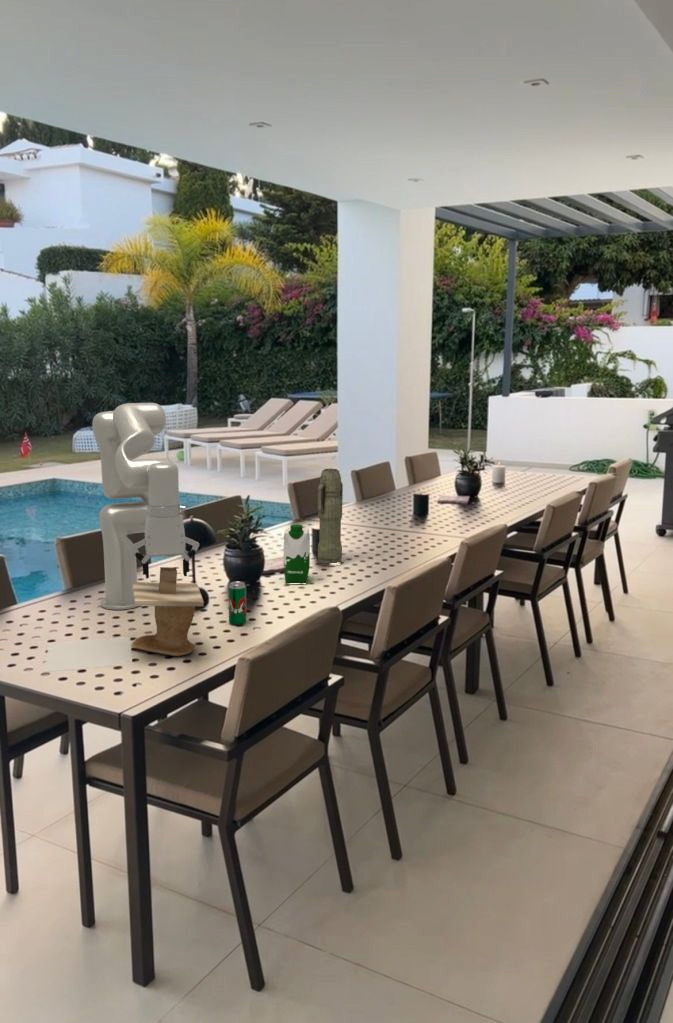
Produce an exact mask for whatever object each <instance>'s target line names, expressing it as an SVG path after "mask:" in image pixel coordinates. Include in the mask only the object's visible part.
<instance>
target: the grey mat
mask: <svg viewBox="0 0 673 1023" xmlns="http://www.w3.org/2000/svg"><path fill="white" fill-rule="evenodd" d="M131 643H132V642H131V636H122V637H121V636H119V637H110V638H96V639H95V638H94V639H83V640H82V639H81V640H80V639H79V640H69V641H68V640H67V641H56V642H55V641H54V642H48V648H47V652H46V658H45V664H44V669H43V672H44V673H47V672H59V671H68V670H69V671H71V670H83V669H94V668H95V669H96V668H108V667H119V666H132V665H133V655H132V654H133V653H132V644H131Z"/></svg>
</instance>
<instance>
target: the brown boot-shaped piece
mask: <svg viewBox="0 0 673 1023" xmlns="http://www.w3.org/2000/svg"><path fill="white" fill-rule="evenodd" d="M195 610H196V606H154V619H155V624H156V633H155V634H151V635H150V634H146V635H142V636H140V637H138V638H136V639H135V640H134V641H133V642H131V643H132V644H131V648H134V649H138V650H142V651H146V652H150V653H154V654H155V653H156V654H159V655H160V654H161V655H165V656H174V657H175V656H176V657H181V656H185V655H189V654H190V653H191V652H193V651H194V650H195V648H196V645H195V644H194V643H193V642H191V641H189V639H188V634H189V630H190V628H191V625H192V623H193V620H194V616H195Z"/></svg>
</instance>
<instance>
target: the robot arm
mask: <svg viewBox="0 0 673 1023" xmlns="http://www.w3.org/2000/svg"><path fill="white" fill-rule="evenodd" d="M166 425H167V417H166V412H165V410H164V409H163V407H162V406H161V405H160V404H158V403H155V402H136V403H135V402H127V403H123V404H120V405H118V406H116V408H114V410H108V411H101V412H98V413H97V414H95V416H93V418H92V432H93V433H92V434H93V436H94V439H95V443H96V444H97V447H98V450H99V454H100V465H101V466H100V467H101V468H100V469H101V483H102V491H103V493H104V494H103V495H104V496H106V498H108V499H113V500H118V499H120V500H122V499H123V500H124V499H132V498H134V499H135V498H139V499H140V501H131V502H115V503H110V504H106V505H105V506H104V505H103V507H102V508H101V509H100V511H99V514H98V519H99V520H98V521H99V526H100V531H101V536H102V544H103V546H102V547H103V561H104V562H103V563H104V564H103V565H104V582H105V583H104V585H105V586H104V589H105V598H103V599H101V601H100V606H101V607H102V608H104V609H107V610H114V611H116V610H117V611H118V610H119V611H121V610H122V611H123V610H130V609H135V608H138V607H139V606H135V605H134V595H133V582H138V576H137V575H138V572H137V560H139V561H140V562H141V564H142V575H143V576H144V575H145V579H147V580H148V579H149V578H150V573H149V568H150V566H149V559H150V558H152V557H160V556H161V557H162V556H179V555H180V556H181V557H182V558H183V559H182V574H183V576H184V577H187V575H188V573H190V560H191V559H192V558H193V557H194V556H195V555H196V552H197V551H198V549H199V547H200V543H199V542H198V541H196V540H195V539H192V538H189V537H188V536H186V533H185V532H186V531H185V525H184V523H185V522H184V518H183V515H182V514H180V513H182V512H185V511H186V506H185V505H181V504H180V488H179V484H180V481H179V467H178V466H177V464H176V463H174V462H173V461H172V460H171V459H169V458H165V457H163V458H162V457H157V458H140V459H138V458H139V457H141V456H144V455H145V454H147V453H149V452H150V451H151V450H152V448H154V445H155V441H156V439H155V437H156V436H157V435H159V434H161V433H162V432H164V430H165V428H166ZM141 533H142V534H143V533H144V538H143V539H141V540H139V541H137V542H135V543H134V542H132V540H131V539H130V538H129V537H128V535H132V534H141ZM186 544H188V545H190V546H192V547H191V549H190V550H189V551H188V552H186V547H187V546H186ZM143 546H144V551H145V553H144V554H142V553H141V552H139V550H138V549H140V548H141V547H143Z"/></svg>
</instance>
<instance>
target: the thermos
mask: <svg viewBox="0 0 673 1023" xmlns="http://www.w3.org/2000/svg"><path fill="white" fill-rule="evenodd" d="M319 478H320V479H319V484H318V487H317V513H318V514H317V516H318V519H319V529H318V531H319V532H318V533H319V540H318V545H317V557H318V558H317V559H318V560H317V562H318V561H319V562H322V563H337V562H341V563H342V558H343V546H342V542H341V540H342V539H341V536H342V528H341V526H342V518H343V495H344V494H343V492H344V491H343V488H344V486H343V485H344V484H343V482H342V477H341V473H340V470H338V469H336V468H324V469H323V470H322V471H321V473H320V477H319Z"/></svg>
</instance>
